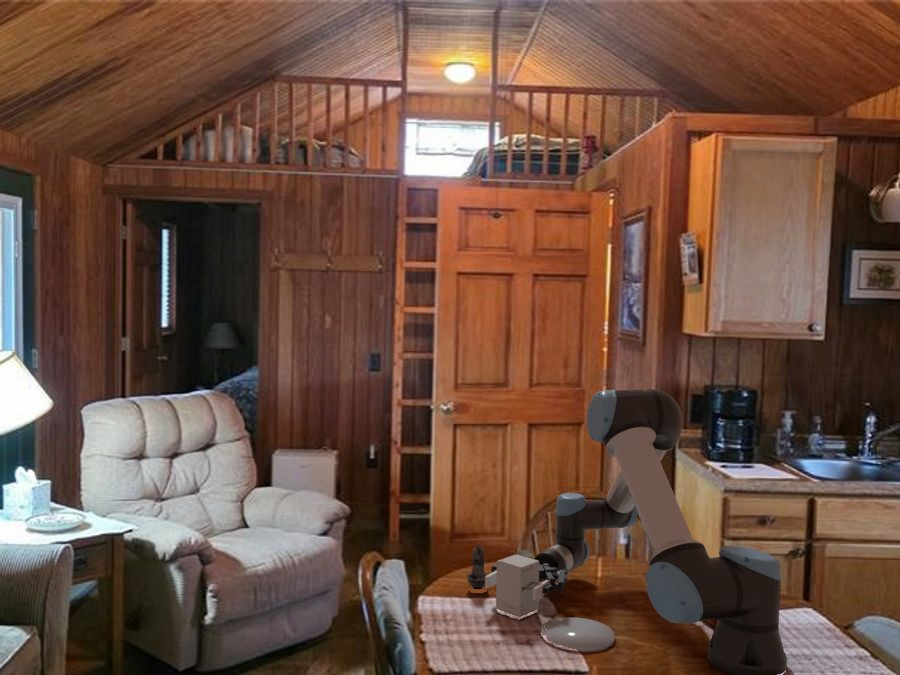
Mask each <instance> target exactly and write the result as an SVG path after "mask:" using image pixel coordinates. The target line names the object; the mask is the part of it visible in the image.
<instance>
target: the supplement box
mask: <svg viewBox="0 0 900 675" xmlns="http://www.w3.org/2000/svg"><path fill="white" fill-rule="evenodd" d="M496 565H497V582H496V584H495V585H496V586H495V587H496V590H495V593H496V594H495V610H496V609H499V610H501V611H504V612H506V613H509V614H512V615H515V616H518V617H521V616H523V615H526V614H528V613H530V612H533V611H535V610H537V609H538V610H539V599H537V600H533V588H534V587H535V586H537V585H539V584H540V579H539V561H538V560H534V559H531V558H527V557H524V556H520V555H518V554H513V555H511V556H507V557H505V558H502V559H498V560H497V561H496Z"/></svg>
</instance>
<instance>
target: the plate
mask: <svg viewBox="0 0 900 675" xmlns="http://www.w3.org/2000/svg"><path fill="white" fill-rule="evenodd" d="M544 626H545V627H544ZM542 627H543V628H542ZM545 628H546V629H547V630H546V631H547V632H546V637H547V639H548V640H550V641H552V642H554V643H556V644H559V645H562V646H565V647H568V648H572V649H576V650H578V651H581V652H580V653H593V652H600V651H603V650H607V649H609V648H610V647H612V645H614V643H615V633H614V631H613V629H611V627H609V626H608V625H607V624H604V623H602V622H599V621H597V620H593V619H590V618H589V619H588V618H582V617H574V616H573V617H572V616H571V617H558V618H554V619H551V620H550V619H549V620H548V621H546V622H544V623H543V624H542V625H541V627H540V630H542V629H544V630H542V631H544V632H542V631H541V632H542V633H544V634H542V635H545ZM548 630H549V631H548ZM548 632H549V633H548ZM547 635H548V636H547Z"/></svg>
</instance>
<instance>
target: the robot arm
mask: <svg viewBox="0 0 900 675" xmlns="http://www.w3.org/2000/svg"><path fill="white" fill-rule="evenodd" d="M683 419H684V418H683V413H682V410H681V408H680V405H679V404H678V402H677V401H676V400H675V399H674V398H673V397H672V396H671V395H670V394H668V393H666V392H664V391H662V390H660V389H655V388H648V389H625V390H622V389H621V390H617V389H616V390H615V389H609V390H608V389H607V390H600V391H597V392H596V393H595V394H594V395H593V396H592V398H591V399H590V401H589V404H588V407H587V412H586V428H587V429H586V430H587V433H588V435H589V438H590V439H591V440H592V441H594V442H596V443H603V445H604V448H605V451H606V452H607V454H608V455H609V456H612V457H614V458H616V460H617V463H618V465H619V468H620V470H619V471H618V474H617V476H616V477H615V479H614V481H613V483H612V485H611V487H610V489H609V491H608V492H607V494H606V495H605V498H604V499H599V500H596V499H595V500H586V497H585V496H584V495H582V494H580V493H576V492H575V493H574V492H573V493H571V492H566V493H562V494H559V495H558V496H557V498H556V504H555V505H556V506H555V542H554V543H555V544H554V545H553V546H551V547H549V548H548V547H547V548H546V549H545V550H543V551H540V552H539V553H537V554H536V556H534V557H535V558H534V560H538V561H539V581H542V582H539V585H537V586H535V587H534V588H533V600H537V599H538V600H539V599H540V598H542V597H543V596H545V595H548V594H550V593H555V592H557V593H559V594H563V593H564V589H565V583H566V582H567V581H568V577H569V575H568V573H571V571H573V570H574V569H576V568H577V569H578V568H579V567H580V566H583V564H584V563H585V562H586V561H588V559H589V558H590V554H591V548H590V545H589V543H588V541H587V540H586V539H585V535H586V534H585V532H586V531H592V530H606V529H623V528H629V527H632V526H634V525H635V524H636V522H637V520H638V517H639V520H640V522H641V525H642V527H643V528H642V529H643V530H644V533H645V536H646V538H647V541H648V543H649V546H650V549H651V551H652V554H651V556H650V558H649V561H648V564H649V567H648V569H647V571H646V574H645V575H646V577H645V582H646V584H647V585H645V586H646V587H645V588H646V591H647V592H646V593H647V596H648V598H649V600H650V602H651V604H652V606H653V608H654V610H655V611H656V612H657V613H658V614H659V615H660V616H661V617H662V618H663V619H664V620H666V621H668V622H670V623H672V624H673V623H674V624H683V623H685V624H695V623H697V622H704V621H706V620H713V619H718V622H717V625H716V626H714V631H713V633H712V635H711V637H710V638H711V639H710V641H709V642H708V643H709V644H708V646H707V659H708V662H709V663H710V664H711V665H712V666H713V667H715V668H716V669H718V670H719V671H721V672H723V673H726V674H728V675H777V674H781V673H783V672H784V671H785V670H786V668H787V667H788V658H787V655H786V652H785V649H784V645H783V642H782V639H781V634H780V630H779V628H780V627H779V625H780V623H779V622H780V605H781V602H780V600H781V585H782V584H781V582H782V578H781V563H780V562H779V560H778V559H777V558H776V557H775V556H773V555H771V554H769V553H767V552H764V551H762V550H758V549H755V548H750V547H745V546H738V545H723V546H721V547H720V548H719V552H718V554H719V556H718V557H710V556H709V554H708V551H707V550H706V546H705V545H704V543H702V542H700V541H698V540H697V539H694V538H693V536H692V534H691V533H692V532H691V531H690V529H689V526H688V524H687V522H686V519H685V517H684V515H683V512H682V510H681V508H680V506H679V503H678V500H677V498H676V496H675V493H674V491H673V489H672V487H671V484H670V482H669V479H668V477H667V475H666V472H665V470H664V468H663V465H662V463H661V461H662V460H663V457H664V456H665V455H666V453H667V452H668V451H671V450H672V449H674V447H676V445H677V443H678V441H679V440H680V437H681V435H682V430H683V426H684V425H683V422H684V421H683ZM637 516H638V517H637ZM490 569H491V572H489V574H488V575H487V576H485V586H484V587H485V588H487V589H489V588H491V587H493V586H495V585H496V582H497V564H494V565H491V568H490ZM557 580H558V581H557ZM556 581H557V582H556ZM787 669H788V668H787Z"/></svg>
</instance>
